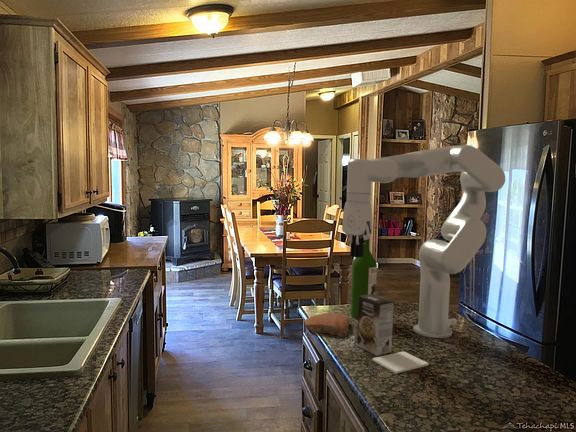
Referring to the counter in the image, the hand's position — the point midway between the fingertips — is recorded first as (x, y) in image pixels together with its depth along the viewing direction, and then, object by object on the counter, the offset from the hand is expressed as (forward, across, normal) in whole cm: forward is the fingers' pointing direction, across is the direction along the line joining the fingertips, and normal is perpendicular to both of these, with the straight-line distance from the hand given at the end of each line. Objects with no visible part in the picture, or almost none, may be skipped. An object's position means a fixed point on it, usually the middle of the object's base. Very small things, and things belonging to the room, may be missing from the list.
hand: (356, 256), depth 154 cm
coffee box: (+27, +10, 0) cm, 29 cm away
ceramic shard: (+28, -13, -2) cm, 31 cm away
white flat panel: (+27, +22, 0) cm, 35 cm away
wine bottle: (+27, -18, +18) cm, 37 cm away
